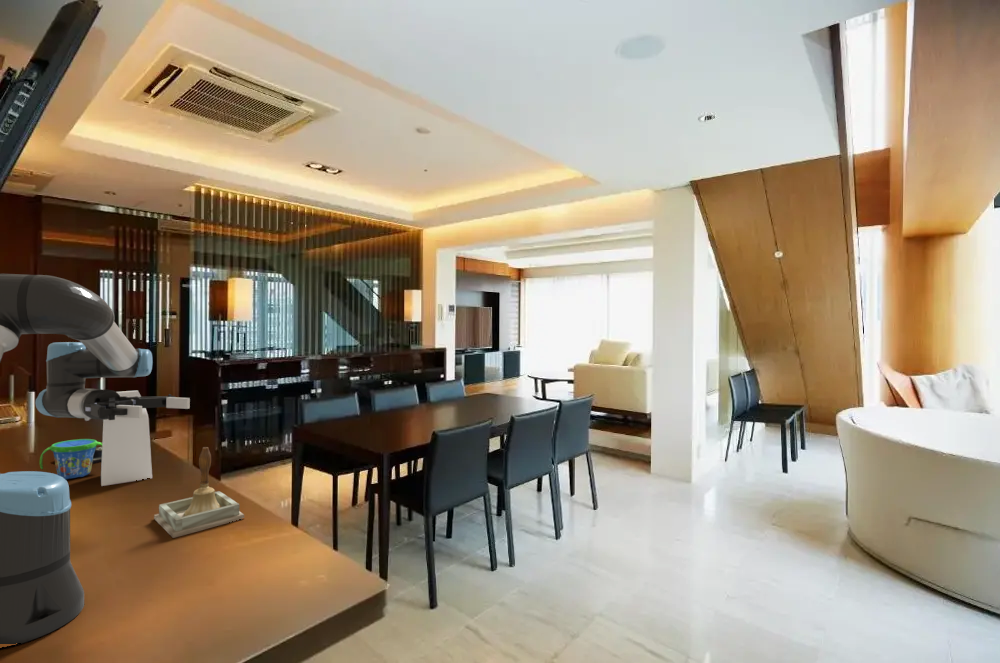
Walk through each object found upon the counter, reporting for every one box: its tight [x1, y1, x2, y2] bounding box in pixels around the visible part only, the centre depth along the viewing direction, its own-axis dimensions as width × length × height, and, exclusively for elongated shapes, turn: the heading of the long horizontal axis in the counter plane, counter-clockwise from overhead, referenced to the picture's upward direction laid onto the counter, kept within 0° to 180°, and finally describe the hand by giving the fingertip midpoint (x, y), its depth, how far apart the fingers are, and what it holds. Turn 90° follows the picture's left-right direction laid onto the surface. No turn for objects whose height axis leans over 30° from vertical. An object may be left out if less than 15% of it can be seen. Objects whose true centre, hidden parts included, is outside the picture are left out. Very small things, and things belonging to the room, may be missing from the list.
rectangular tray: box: [153, 490, 245, 539], centre depth 121 cm, size 15×15×4 cm
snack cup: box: [39, 438, 102, 480], centre depth 151 cm, size 16×10×10 cm
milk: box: [100, 390, 153, 487], centre depth 150 cm, size 12×12×26 cm
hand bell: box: [184, 446, 222, 516], centre depth 122 cm, size 8×8×16 cm
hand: (166, 407), depth 123 cm, fingers open, 13 cm apart
